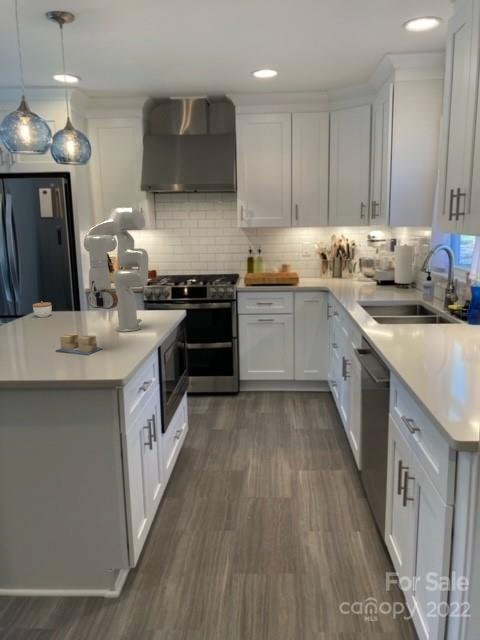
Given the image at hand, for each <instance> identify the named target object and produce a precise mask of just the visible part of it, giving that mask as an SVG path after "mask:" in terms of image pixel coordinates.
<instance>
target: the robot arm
mask: <svg viewBox="0 0 480 640" xmlns="http://www.w3.org/2000/svg"><path fill="white" fill-rule="evenodd" d="M145 226H146V220H145V216H144V215H143V214H142V212H141V211H139V210H138V209H137V208H135V207H134V206H133V207H131V206H119V207H117V206H115V207H112V208H111V209H110V210H108V213H107V215H106V217H105V219H104V220H103V221H102V222H100V223H98V224H96V225H95V226H93V227H91V228H90V229H89V230H88V231H87V232H86V235H85V236H84V239H83V247H84V249H85V250H86V252H88V255H89V256H88V257H89V266H90V267H89V271H88V289H89V290H90V291H91V293H92V294H94V295H95V298H96V302H97V306H98V307H103V298H102V290H112V282H111V280H112V279H113V285H114V288H115V293H116V295H117V297H118V303H117V306H116V307H117V308H116V309H117V320H118V326H116V327H115V331H117V332H121V333H122V332H123V333H125V332H135V331H139V330H141V329H142V328H141V325H139V324H140V323H142V319H141V318H138V315H137V314H138V313H137V302H136V295H135V293H134V291H133V290H132V289H131V288H144V287H146V286H147V285H148V282H149V254H148V251H147V250H146V249H145V248H135V238H134V237H133V235H131V233H130V232H129V231H141V230H143V229H144V228H145ZM115 236H116V237H115ZM115 250H117V254H116V255H117V256H116V258H117V259H116V261H117V262H116V263H117V265H118V266H119V267H121V268H122V269H116V270H115V271H114V272H113V275H112V279H111V275H110V273H111V272H110V269H109V262H108V252H109V253H111V252H113V251H115ZM90 291H89V292H90ZM98 292H99V293H98Z"/></svg>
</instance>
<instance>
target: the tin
mask: <svg viewBox="0 0 480 640" xmlns="http://www.w3.org/2000/svg"><path fill="white" fill-rule="evenodd" d="M98 293H99V292H98ZM102 298H103V307H98V306H97V302H96V298H95V295H94V294H92V293H91V291H89V292H88V293H87V303H88V305H89V307H91V308H92V309H103V310H111V309H114V308H116V307H117V303H118V297H117V295H116V291H115V292H114V291H113V290H112V289H111V290H102Z"/></svg>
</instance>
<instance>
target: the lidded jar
mask: <svg viewBox="0 0 480 640" xmlns="http://www.w3.org/2000/svg"><path fill="white" fill-rule="evenodd" d="M43 301H44V300H43ZM43 301H42V300H41V301H40V302H37V303H34V304H32V309H33V310H32V311H33V313H34V315H35V316H37V318H47V317H49V316H50V315H51V313H52V310H53V309H52V307H53V306H52V305H53V304H52V302H48V301H47V302H45V301H44V302H43Z"/></svg>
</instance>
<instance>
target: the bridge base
mask: <svg viewBox="0 0 480 640" xmlns="http://www.w3.org/2000/svg"><path fill="white" fill-rule="evenodd" d="M59 338H60V339H59V340H60V348H58V349H56V350H55V353H56V352H57V353H64V354H74V355H82V356H83V355H84V356H89V355H92V354H95V353H96V352H99V351H100V352H101V351H102V350H104V349H103V347H98V345H97V343H98V342H97V336H96V335H91V334H85V335H83V336H79V334H78V333H67V334H63V335H60V336H59Z"/></svg>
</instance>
